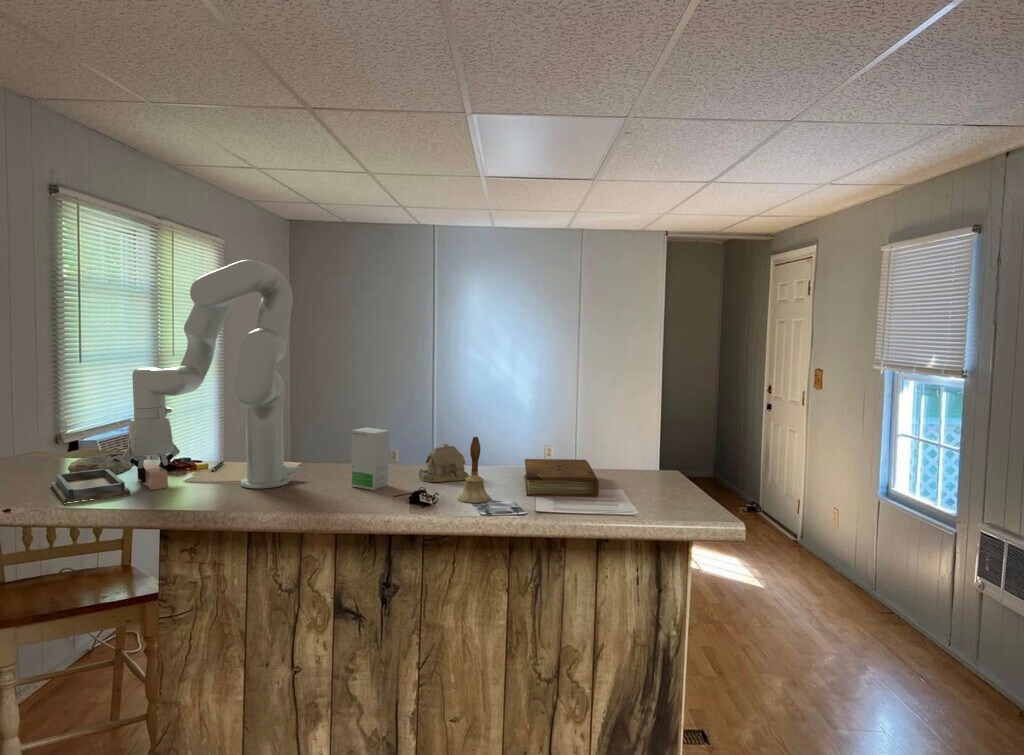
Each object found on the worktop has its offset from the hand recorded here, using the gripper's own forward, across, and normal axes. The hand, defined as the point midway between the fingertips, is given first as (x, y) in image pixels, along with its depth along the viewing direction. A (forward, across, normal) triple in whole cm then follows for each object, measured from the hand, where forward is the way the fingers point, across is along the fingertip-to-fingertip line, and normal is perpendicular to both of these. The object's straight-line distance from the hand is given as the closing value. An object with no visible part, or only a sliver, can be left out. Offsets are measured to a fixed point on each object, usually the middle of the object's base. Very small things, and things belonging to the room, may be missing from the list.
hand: (152, 480), depth 179 cm
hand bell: (+2, -59, +66) cm, 88 cm away
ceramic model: (+2, -66, +43) cm, 79 cm away
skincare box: (+2, -45, +38) cm, 59 cm away
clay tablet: (+2, +6, -28) cm, 29 cm away
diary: (+3, -86, +70) cm, 111 cm away
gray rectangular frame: (+1, +14, -2) cm, 14 cm away
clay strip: (+1, 0, 0) cm, 1 cm away
